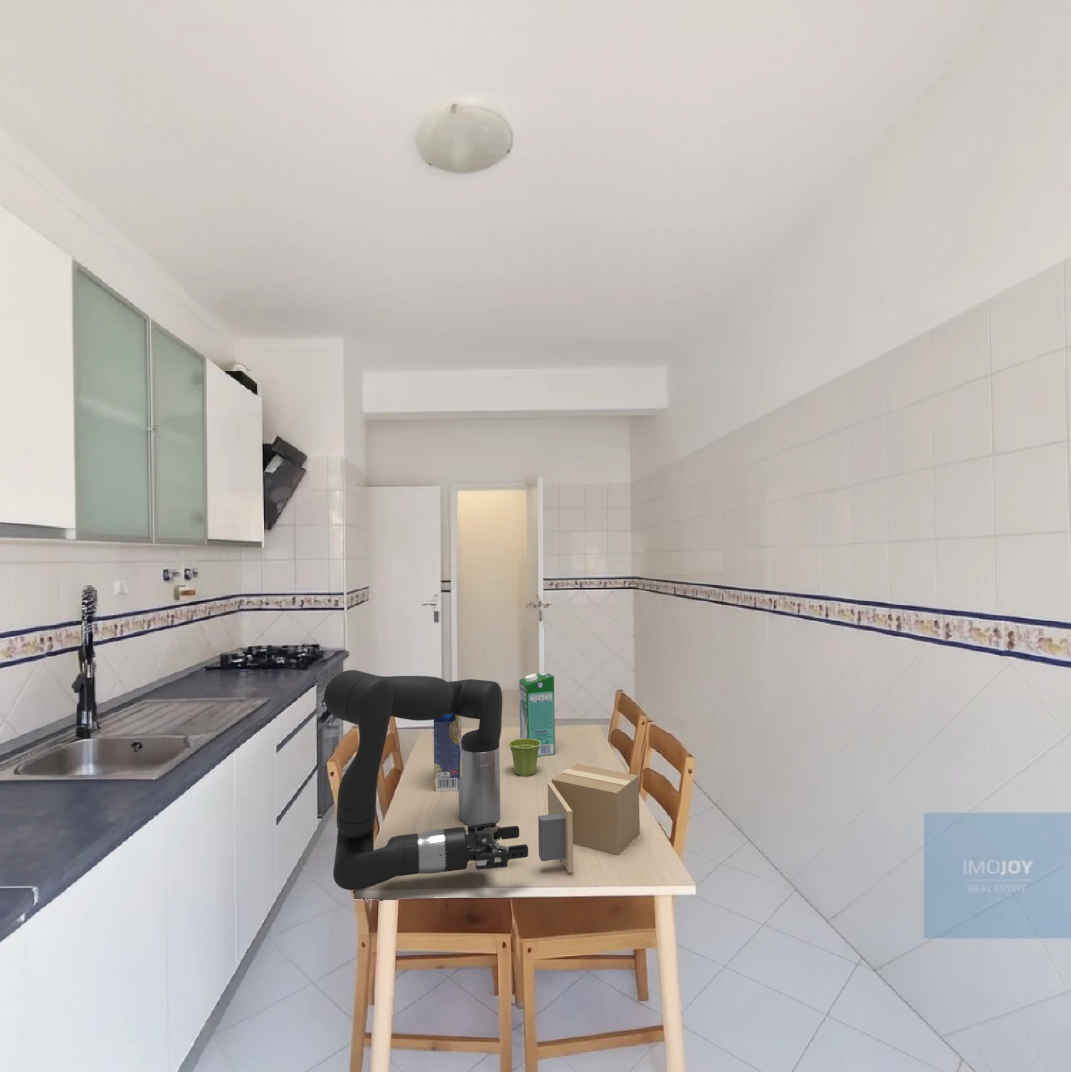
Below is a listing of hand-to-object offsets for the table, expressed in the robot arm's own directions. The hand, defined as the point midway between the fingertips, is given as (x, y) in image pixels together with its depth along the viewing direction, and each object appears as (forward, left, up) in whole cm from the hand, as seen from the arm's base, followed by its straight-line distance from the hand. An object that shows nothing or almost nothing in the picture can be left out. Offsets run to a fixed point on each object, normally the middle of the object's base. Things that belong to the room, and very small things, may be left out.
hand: (523, 840), depth 125 cm
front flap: (+1, +8, -6) cm, 10 cm away
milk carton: (-38, +66, -7) cm, 77 cm away
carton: (+5, +22, -6) cm, 24 cm away
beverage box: (-45, +30, -7) cm, 55 cm away
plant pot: (-31, +48, -7) cm, 58 cm away
